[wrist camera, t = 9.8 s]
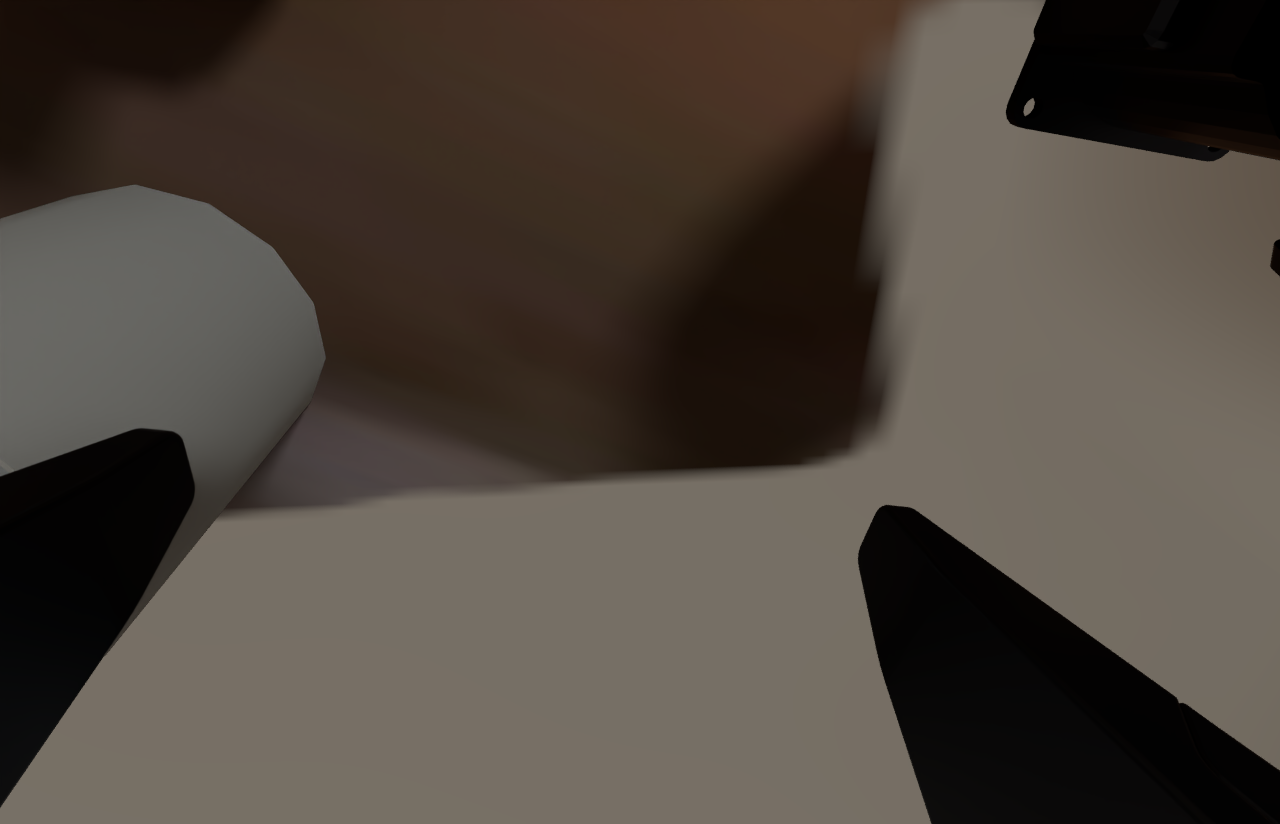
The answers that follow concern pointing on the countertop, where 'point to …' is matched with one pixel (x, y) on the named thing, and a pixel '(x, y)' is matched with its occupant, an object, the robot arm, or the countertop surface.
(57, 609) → the robot arm
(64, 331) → the cup
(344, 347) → the countertop surface
